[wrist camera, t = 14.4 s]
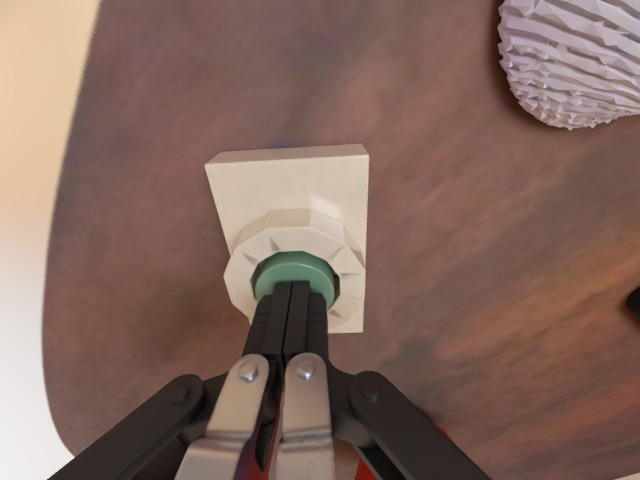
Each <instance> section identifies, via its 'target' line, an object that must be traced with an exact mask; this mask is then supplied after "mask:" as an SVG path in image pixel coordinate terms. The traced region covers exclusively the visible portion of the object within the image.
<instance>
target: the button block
mask: <svg viewBox="0 0 640 480" xmlns="http://www.w3.org/2000/svg"><path fill="white" fill-rule="evenodd" d="M204 166H205V170H206V173H207V177H208V180H209V184H210V187H211V191H212V194H213V198H214V201H215V205H216V208H217V211H218V215H219V218H220V222H221V225H222V229H223V232H224V236H225V239H226V243H227V246H228V250H229V253H230V260H229V262H228V265H227V267H226V270H225V272H224V280H225V283H226V286H227V290H228V293H229V296H230V299H231V302H232V303H233V305H234V306H235V307H237V308H238V309H239V310H240V311H241V312H242V313H243V314H244V315H246V316H247V317H248V319H249V323H250V326H251V324H252V320H253V317H254V315H255V310H256V306H257V303H258V300H257V297H256V293H255V287H256V282H257V279H258V276H259V273H260V270H261V267H262V264H263V261H264V259H266V258H268V257H270V256H272V255H273V254H275V253H277V252H289V251H304V252H307V253H309V254H311V255H314V256H316V257H319V258H321V259H324V260H326V261H327V262H328V264H329V265H330V266H331V267H332V269H333V274H334V299H333V302H332V304H331V306H330V307H329V309H328V310H327V317H328V333H359V332H363V319H364V298H365V279H366V270H365V263H366V236H367V208H368V181H369V154H368V153H367V151H366V149H365V147H364V145H363V144H362V143H361V144H344V145H327V146H310V147H293V148H276V149H259V150H242V151H225V152H220V153H219V154H217V155H216V156H215V157H213V158H212V159H211V160H210V161H208V162H207V163H206V164H205V165H204Z"/></svg>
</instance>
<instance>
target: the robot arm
mask: <svg viewBox="0 0 640 480" xmlns="http://www.w3.org/2000/svg"><path fill="white" fill-rule="evenodd" d="M282 391H284V405H283V425H282V437H281V440H280V441H279V445H278V452H277V466H276V480H336V472H335V460H334V449H333V438H332V436H334V437H337V438H339V439H342V440H344V441H347V442H349V443H351V444H352V446H353V447H354V449H355V450H356V452H357V453H358V454H359V456H360V457H361V458H362V460H363V461H364V462H365V464H366V465H367V466H368V468H369V469H370V470H371V472H372V473H373V474H374V476H375V477H376V478H377V480H492V479H491V478H490V477H489V476H488V475H486V474H485V473H484V472H483V471H482V470H481V469H480V468H479V467H478V466H477V465H476V464H475V463H474V462H473V461H472V460H471V459H470V458H469V457H468V456H467V455H466V454H465V453H464V452H463V451H461V450H460V449H459V448H458V447H457V446H456V445H455V444H454V443H453V442H452V441H451V440H450V439H449V438H448V437H447V436H446V435H445V434H444V433H443V432H442V431H441V430H440V429H439V428H437V427H436V426H435V425H434V424H433V423H432V422H431V421H430V420H429V419H428V418H427V417H426V416H425V415H424V414H423V413H422V412H421V411H420V410H419V409H418V408H417V407H416V406H415V405H414V404H412V403H411V402H410V401H409V400H408V399H407V398H406V397H405V396H404V395H403V394H402V393H401V392H400V391H399V390H398V389H397V388H396V387H395V386H394V385H393V384H392V383H391V382H390V381H389V380H387V379H386V378H385V377H384V376H383V375H381V374H379V373H377V372H374V371H363V372H360V373H358V374H357V375H355V376H354V375H351V374H348V373H344V372H342V371H340V370H338V369H336V368H335V367H334V366H333V365H332V364H331V362H330V361H329V359H328V317H327V302H326V299H325V298H324V296H323V294H322V293H311V285H310V281H304V282H279V283H276V284H275V289H274V293H273V294H271V295H264V296H263V297H262V298H261V300H260V301H259V302H258V303H257V306H256V310H255V315H254V317H253V320H252V324H251V327H250V331H249V334H248V337H247V341H246V344H245V348H244V351H243V354H242V357H241V358H240V359H238V360H237V361H236V362H235V363H234V364H233V365H232V367H231V368H230V370H229V371H228V372H226V373H225V374H222V375H220V376H217V377H214V378H211V379H208V380H205V381H202V380H201V379H200V378H199V377H198V376H196V375H193V374H186V375H182V376H180V377H177V378H175V379H174V380H172V381H171V382H170V383H168V384H167V385H166V386H165V387H163V388H162V389H161V390H160V391H158V392H157V393H156V394H154V395H153V396H152V397H151V398H149V399H148V400H147V401H146V402H144V403H143V404H142V405H141V406H139V407H138V408H137V409H136V410H134V411H133V412H132V413H131V414H129V415H128V416H127V417H125V418H124V419H123V420H122V421H120V422H119V423H118V424H117V425H115V426H114V427H113V428H112V429H110V430H109V431H108V432H107V433H105V434H104V435H103V436H102V437H100V438H99V439H98V440H96V441H95V442H94V443H93V444H91V445H90V446H89V447H88V448H86V449H85V450H84V451H83V452H81V453H80V454H79V455H78V456H76V457H75V458H74V459H73V460H71V461H70V462H69V463H68V464H66V465H65V466H64V467H63V468H61V469H60V470H59V471H57V472H56V473H55V474H54V475H53V476H51V477H50V478H49V479H47V480H268V473H269V468H270V463H271V458H272V453H273V448H274V443H275V438H276V433H277V427H278V422H279V417H280V402H281V394H282Z"/></svg>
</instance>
